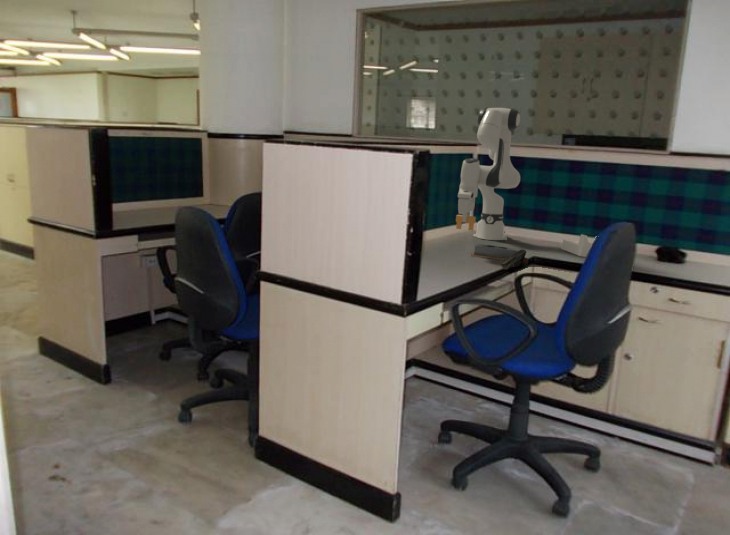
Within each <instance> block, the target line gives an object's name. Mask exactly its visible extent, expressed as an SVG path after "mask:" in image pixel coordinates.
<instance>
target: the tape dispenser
mask: <svg viewBox="0 0 730 535" xmlns="http://www.w3.org/2000/svg"><path fill="white" fill-rule="evenodd" d="M596 237H597V236H595V237H594V239H593V240H592V241H588V235H586V234H582V233H581V234H580V236H579V241H575V240H568V239H562V243H561V248H560V249H561V250H563V251H566V252H569V253H571V254H574V255H576V256H578V257H584V258H587V257H586V254H587V253H588V251H589V249H590V247H591V245H592V243H593V241H594V240H595V238H596Z"/></svg>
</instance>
